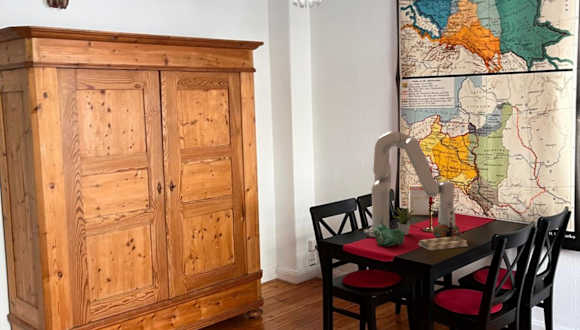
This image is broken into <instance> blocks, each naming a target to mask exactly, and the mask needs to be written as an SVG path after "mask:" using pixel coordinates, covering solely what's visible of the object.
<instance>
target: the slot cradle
mask: <svg viewBox="0 0 580 330" xmlns="http://www.w3.org/2000/svg"><path fill="white" fill-rule="evenodd" d="M418 242H419V243H417V245H418V246H420V247H422V248H424V249H426V250H429V251H437V250H446V249H453V248H462V247H468V246H469V244H467V240H465V239H464V238H461V237H459V236H457V237H456V236H454V237H445V238H429V239H428V238H427V239H420V240H419V241H418Z"/></svg>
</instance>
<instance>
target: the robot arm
mask: <svg viewBox="0 0 580 330" xmlns="http://www.w3.org/2000/svg"><path fill="white" fill-rule="evenodd" d="M420 144H421V143H420V141H419V140H418V138H416V137H415V136H414V137H413V136H411V135H408V134H405V133H403V132H400V131H397V130H390V131H388V132H386V133H385V134H383V135H381V136H379V138H378V139H377V140H376V142H375V146H374V153H373V168H372V172H373V174H374V182H373V185H372V187H371V209H372V210H371V227H370V228H369V229H364V230H363V232H364V233H365V234H369V236H370V237H373V238H375V235H374V231H373V230H374V228H376V227H377V226H378V225H380V224H384V225H385V226H386V227H387V228H388V229H390V191H391V186H392V165H391V163H390V151H391V149H392V148H393V147H396V148H399V149H402V150H404V151H405V153H406V156H407V158H408V159H409V161H410V163H411V166H412V168H413V170H414V173H415V174H416V176H417V178H418V181H419V183H420V184H421V185H422V187H423V189H424V191H425V192H426V194H427V195H428V196H430V197H433V198H435V197H436V196H438V195H439V207H438V214H437V215H438V217H437V222H438V225H441V224H444V225H446V226H447V232H446V237H452V231H453V228H454V227H455V225H456V213H455V207H454V203H455V202H454V200H455V199H454V197H455V196H454V195H455V194H454V193H455V184H454V183H453V182H451V181H437V180H435V178H434V176H433V174H432V171H431V167H430V163H429V161H428V159H427V157H426V155H425V153H424V151H423V149H422V147H421V145H420ZM449 224H450V225H449ZM449 226H450V228H449Z"/></svg>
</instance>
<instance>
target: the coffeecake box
mask: <svg viewBox="0 0 580 330" xmlns="http://www.w3.org/2000/svg"><path fill="white" fill-rule="evenodd" d="M433 201H434V197H432V202H433ZM433 204H434V202H433V203H432V212H434V211H433V209H434V208H433V206H434V205H433ZM408 208H409V209H408V213H409V212H411V211H412V210H413V212H414V213H411V214H410V215H409V216H412V215H414V216H430V215H429V196H428V195H427V194H426V192H425V191H424V189H423V187H422V185H421V183H420V184H408ZM415 209H416V210H415Z"/></svg>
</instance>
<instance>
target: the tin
mask: <svg viewBox="0 0 580 330" xmlns="http://www.w3.org/2000/svg"><path fill="white" fill-rule="evenodd" d="M449 225H450V224H449ZM449 228H450V226H449ZM446 232H447V226H446V225H444V224H441V225H439V224H437V225H435V226H434V227H433V230H432V235H433V237H434V239H436V238H445V237H446ZM454 236H456V237H459V236H460V227H459V226H458V225H457V224H455V227H454V228H453V231H452V237H454Z"/></svg>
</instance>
